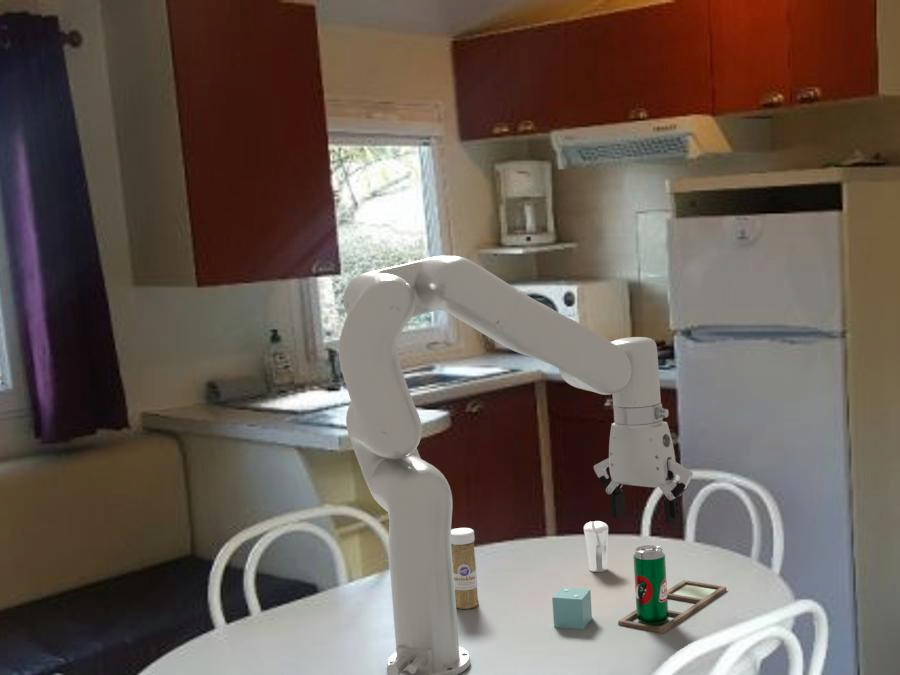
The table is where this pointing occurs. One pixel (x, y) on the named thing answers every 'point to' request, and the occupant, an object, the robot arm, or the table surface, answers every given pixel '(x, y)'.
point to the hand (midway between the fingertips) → (645, 519)
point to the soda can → (650, 585)
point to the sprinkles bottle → (464, 568)
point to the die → (572, 608)
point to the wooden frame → (683, 592)
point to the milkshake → (596, 545)
